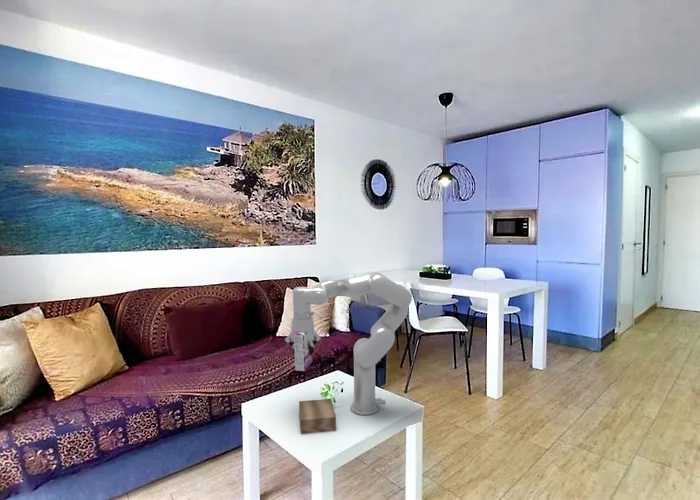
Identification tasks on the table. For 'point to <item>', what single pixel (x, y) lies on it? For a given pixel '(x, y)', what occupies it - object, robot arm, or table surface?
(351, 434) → the table surface
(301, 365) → the candy bar box
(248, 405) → the table surface
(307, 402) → the walnut block
